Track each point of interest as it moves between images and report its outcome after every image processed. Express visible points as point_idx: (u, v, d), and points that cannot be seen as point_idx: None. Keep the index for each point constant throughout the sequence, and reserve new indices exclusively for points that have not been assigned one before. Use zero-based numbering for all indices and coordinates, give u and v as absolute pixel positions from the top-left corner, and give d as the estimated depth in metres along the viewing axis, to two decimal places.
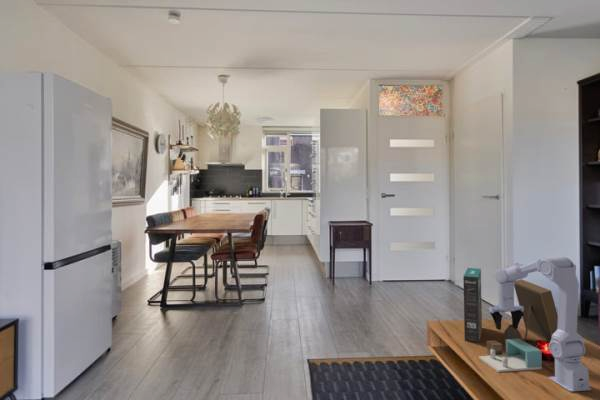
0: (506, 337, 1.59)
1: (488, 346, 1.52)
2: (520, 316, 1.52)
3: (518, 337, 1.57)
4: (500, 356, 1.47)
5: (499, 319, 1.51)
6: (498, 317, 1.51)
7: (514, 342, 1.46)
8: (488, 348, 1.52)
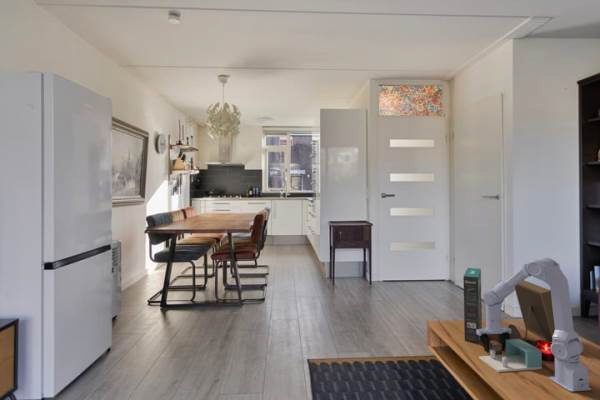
0: None
1: None
2: None
3: (518, 337, 1.57)
4: (500, 356, 1.47)
5: (487, 342, 1.49)
6: (486, 340, 1.48)
7: (514, 342, 1.46)
8: None
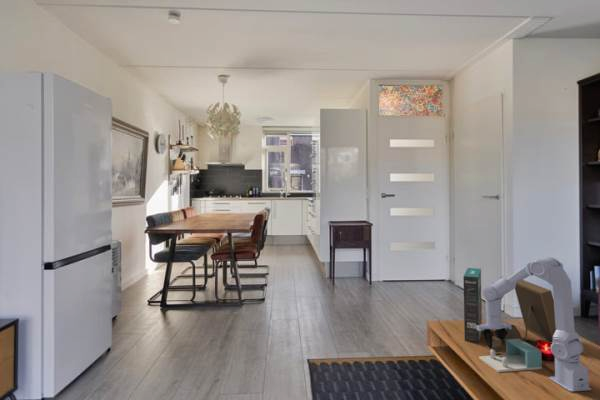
0: (506, 337, 1.59)
1: None
2: (504, 334, 1.49)
3: (518, 337, 1.57)
4: (500, 356, 1.47)
5: (490, 337, 1.49)
6: (489, 335, 1.48)
7: (514, 342, 1.46)
8: None
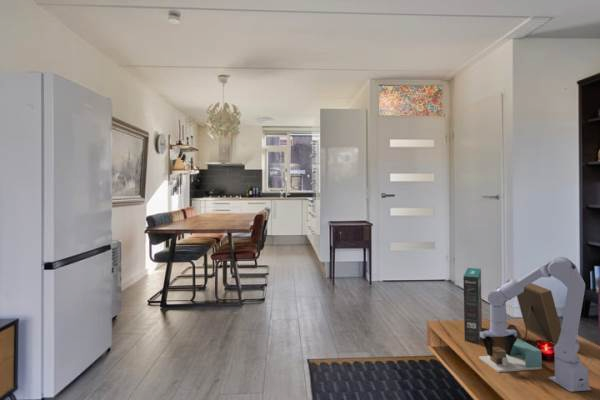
0: None
1: None
2: (513, 341, 1.40)
3: (518, 337, 1.57)
4: None
5: (490, 345, 1.40)
6: (489, 343, 1.39)
7: None
8: (492, 355, 1.43)
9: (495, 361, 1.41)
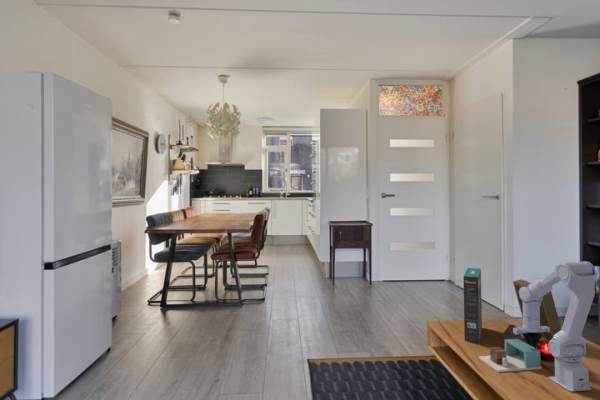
0: (506, 337, 1.59)
1: (492, 352, 1.43)
2: (538, 338, 1.42)
3: (518, 337, 1.57)
4: None
5: (532, 340, 1.42)
6: (531, 338, 1.41)
7: (513, 342, 1.46)
8: (492, 355, 1.43)
9: (495, 361, 1.41)
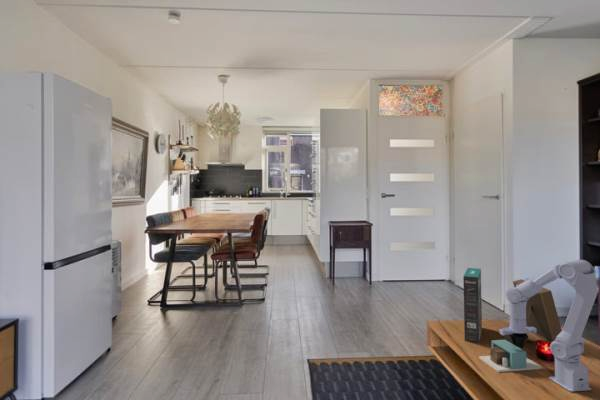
0: (506, 337, 1.59)
1: (492, 352, 1.43)
2: (525, 339, 1.41)
3: None
4: None
5: (519, 341, 1.41)
6: (518, 339, 1.41)
7: (499, 343, 1.45)
8: (492, 355, 1.43)
9: (495, 361, 1.41)
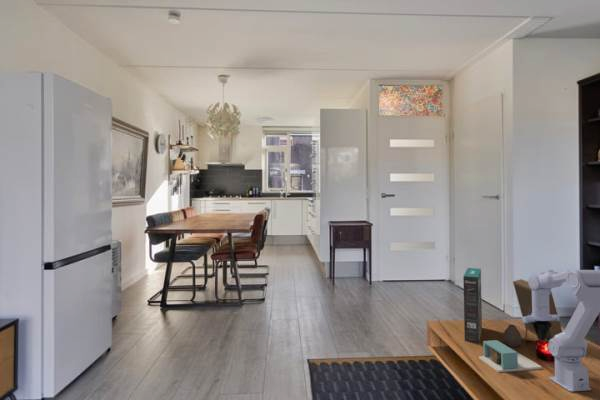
0: (506, 337, 1.59)
1: (492, 352, 1.43)
2: (548, 327, 1.39)
3: (518, 337, 1.57)
4: None
5: (542, 329, 1.39)
6: (541, 327, 1.38)
7: (491, 344, 1.45)
8: (492, 355, 1.43)
9: (495, 361, 1.41)
